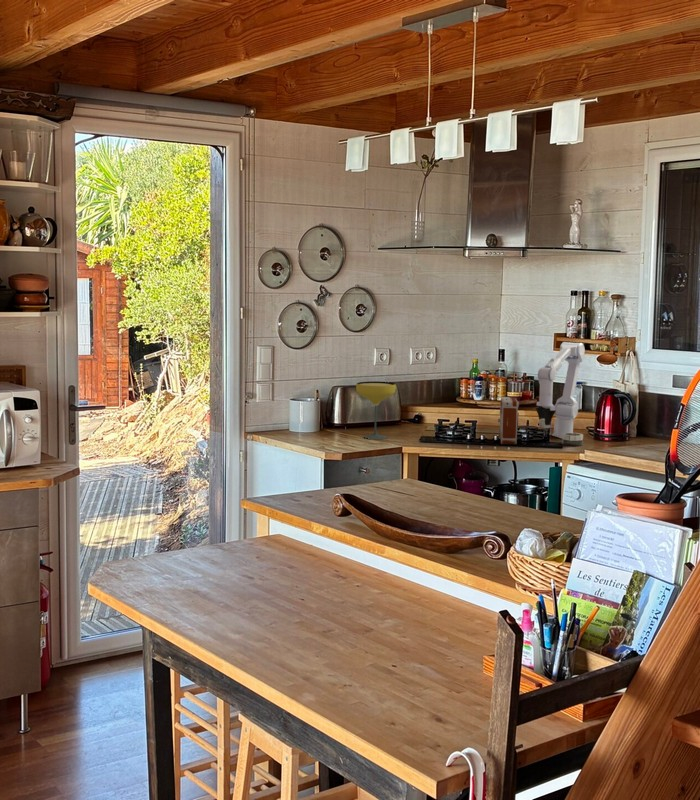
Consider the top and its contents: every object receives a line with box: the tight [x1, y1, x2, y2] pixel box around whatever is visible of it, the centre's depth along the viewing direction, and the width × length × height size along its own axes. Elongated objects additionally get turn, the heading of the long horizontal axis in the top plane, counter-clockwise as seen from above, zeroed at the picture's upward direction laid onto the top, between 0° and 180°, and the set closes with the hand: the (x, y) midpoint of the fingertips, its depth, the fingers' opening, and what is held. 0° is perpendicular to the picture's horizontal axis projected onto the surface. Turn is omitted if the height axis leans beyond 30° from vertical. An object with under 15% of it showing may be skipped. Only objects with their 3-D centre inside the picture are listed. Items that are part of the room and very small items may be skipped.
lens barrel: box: [561, 432, 584, 447], centre depth 449 cm, size 9×9×4 cm
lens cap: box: [538, 418, 551, 429], centre depth 452 cm, size 5×5×4 cm
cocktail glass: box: [355, 380, 397, 440], centre depth 460 cm, size 18×18×25 cm
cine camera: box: [497, 396, 520, 446], centre depth 454 cm, size 9×19×20 cm, turn 174°
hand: (544, 424), depth 452 cm, fingers closed on lens cap, 5 cm apart
